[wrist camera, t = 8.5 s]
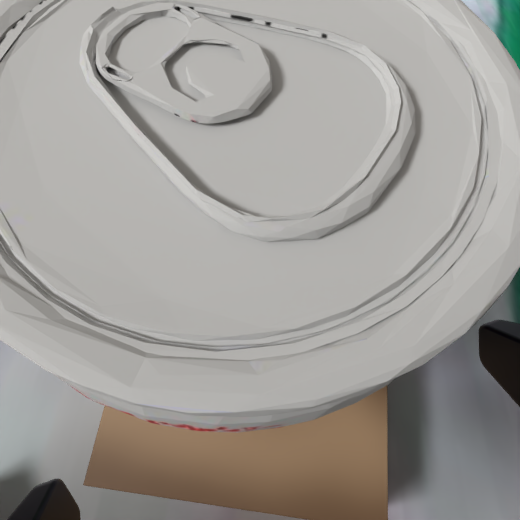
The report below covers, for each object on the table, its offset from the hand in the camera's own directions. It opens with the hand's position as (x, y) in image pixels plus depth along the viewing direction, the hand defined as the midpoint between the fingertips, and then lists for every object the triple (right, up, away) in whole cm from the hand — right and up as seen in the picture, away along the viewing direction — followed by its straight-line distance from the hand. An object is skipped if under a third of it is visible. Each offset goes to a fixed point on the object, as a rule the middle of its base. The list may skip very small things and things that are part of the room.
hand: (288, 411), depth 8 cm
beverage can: (-1, -1, +9) cm, 10 cm away
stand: (-1, -2, +12) cm, 12 cm away
